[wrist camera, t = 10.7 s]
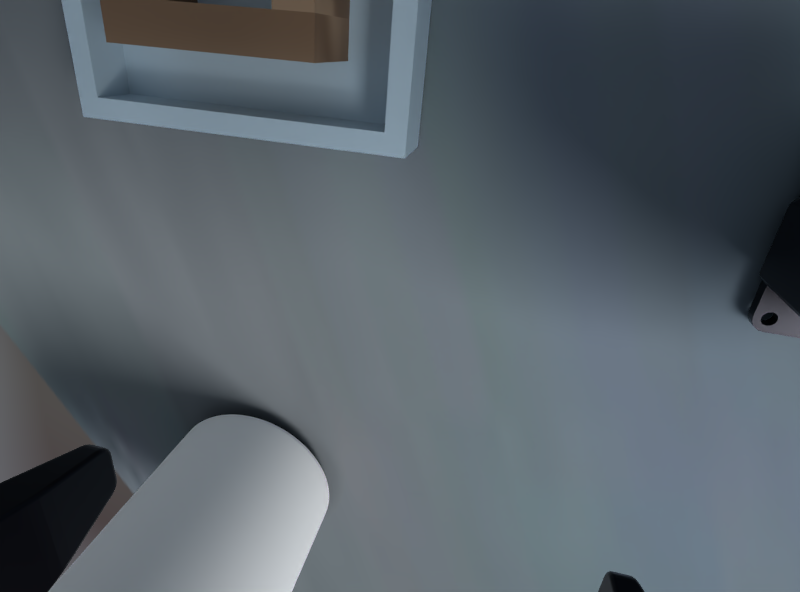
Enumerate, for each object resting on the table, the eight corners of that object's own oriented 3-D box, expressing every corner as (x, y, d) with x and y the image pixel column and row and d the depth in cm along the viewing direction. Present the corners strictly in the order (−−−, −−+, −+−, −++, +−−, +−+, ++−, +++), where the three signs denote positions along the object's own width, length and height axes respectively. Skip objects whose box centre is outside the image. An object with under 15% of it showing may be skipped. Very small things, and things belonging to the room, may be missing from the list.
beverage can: (165, 410, 26) (-76, 652, 16) (306, 400, 24) (132, 677, 13) (223, 524, 29) (52, 792, 19) (352, 525, 27) (241, 832, 16)
